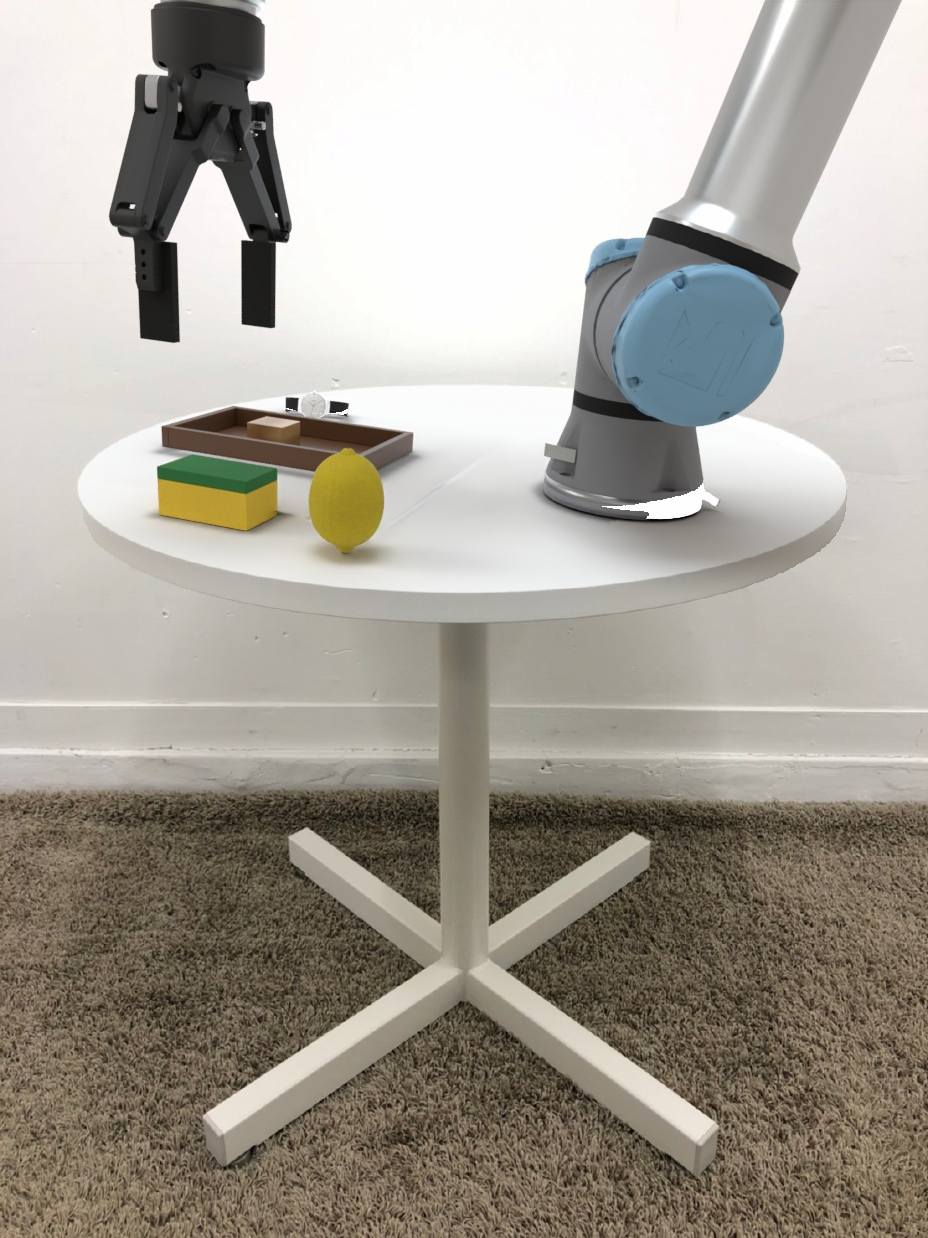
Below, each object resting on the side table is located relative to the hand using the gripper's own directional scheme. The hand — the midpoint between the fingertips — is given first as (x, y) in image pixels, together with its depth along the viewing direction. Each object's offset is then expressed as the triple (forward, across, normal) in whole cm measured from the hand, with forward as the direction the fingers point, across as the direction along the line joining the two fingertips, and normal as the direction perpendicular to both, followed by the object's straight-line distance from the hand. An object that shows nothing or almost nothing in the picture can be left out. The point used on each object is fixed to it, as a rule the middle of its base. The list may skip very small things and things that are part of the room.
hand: (213, 333), depth 74 cm
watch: (+14, -40, -11) cm, 44 cm away
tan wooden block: (+14, -22, -7) cm, 27 cm away
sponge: (+14, 0, 0) cm, 14 cm away
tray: (+14, -22, -5) cm, 27 cm away
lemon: (+14, +3, +13) cm, 20 cm away
